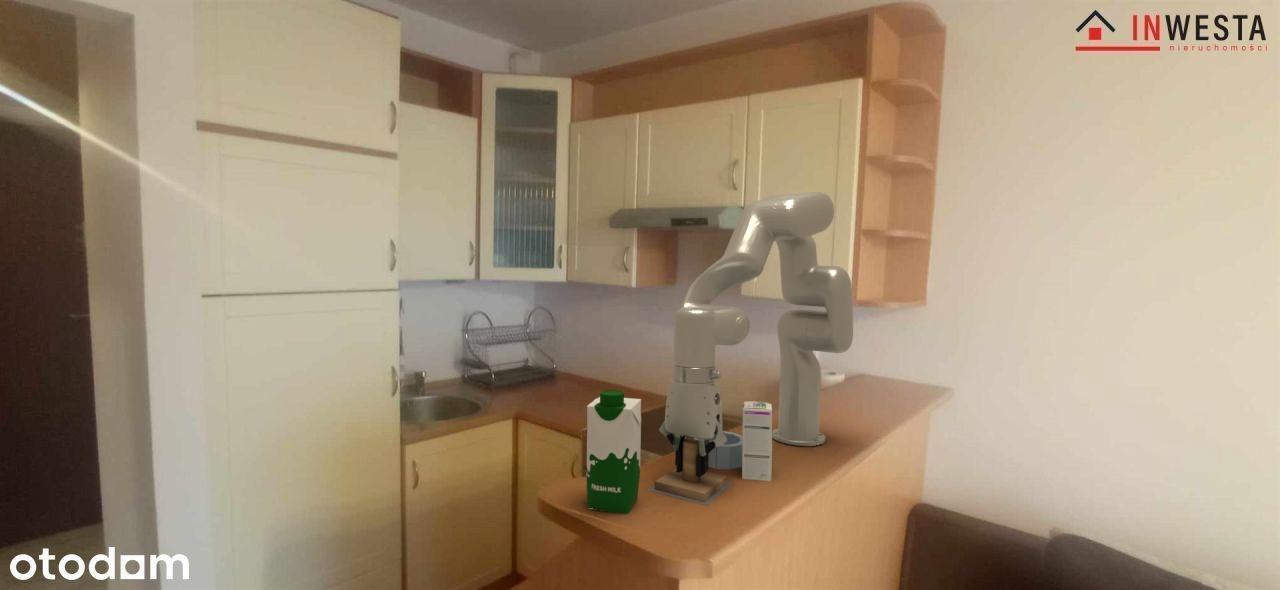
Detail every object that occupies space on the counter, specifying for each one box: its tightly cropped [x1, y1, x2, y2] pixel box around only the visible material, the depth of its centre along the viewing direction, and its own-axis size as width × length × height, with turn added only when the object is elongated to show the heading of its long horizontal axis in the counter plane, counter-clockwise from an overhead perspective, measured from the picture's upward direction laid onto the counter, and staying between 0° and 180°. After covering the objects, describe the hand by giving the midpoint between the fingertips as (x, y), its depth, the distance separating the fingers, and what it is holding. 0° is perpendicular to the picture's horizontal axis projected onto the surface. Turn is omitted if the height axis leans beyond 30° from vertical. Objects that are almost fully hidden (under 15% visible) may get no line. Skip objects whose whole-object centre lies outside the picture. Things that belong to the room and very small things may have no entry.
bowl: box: [693, 430, 742, 470], centre depth 119 cm, size 11×11×5 cm
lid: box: [654, 438, 728, 502], centre depth 104 cm, size 10×10×8 cm
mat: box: [647, 481, 734, 507], centre depth 104 cm, size 12×12×1 cm
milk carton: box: [586, 389, 642, 515], centre depth 96 cm, size 9×9×20 cm
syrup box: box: [741, 400, 773, 482], centre depth 110 cm, size 6×6×14 cm
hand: (691, 471), depth 104 cm, fingers closed on lid, 3 cm apart
